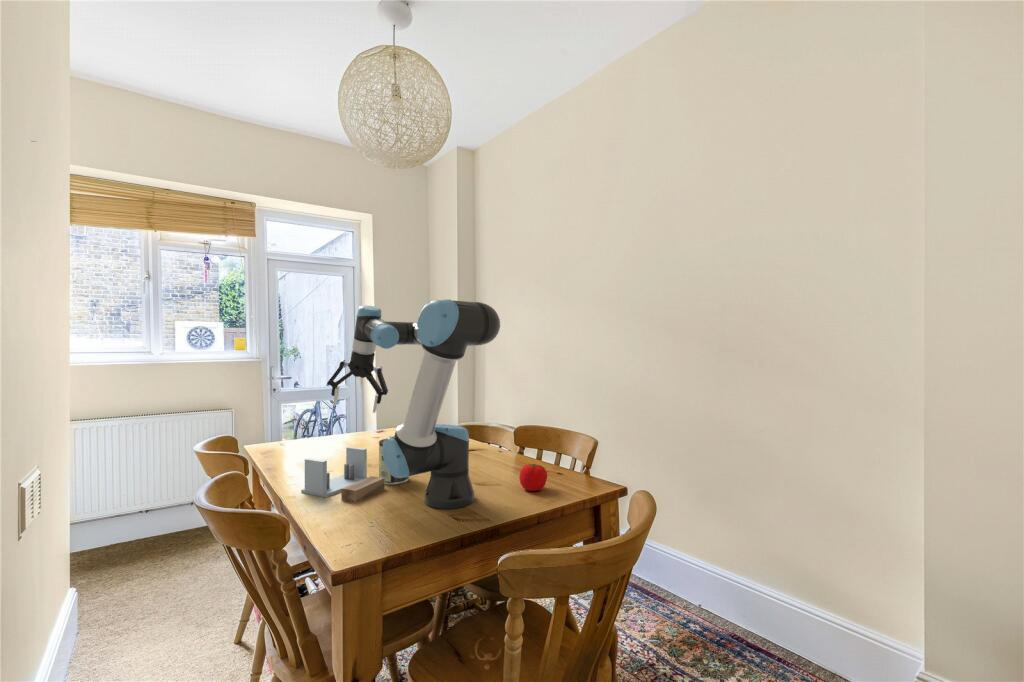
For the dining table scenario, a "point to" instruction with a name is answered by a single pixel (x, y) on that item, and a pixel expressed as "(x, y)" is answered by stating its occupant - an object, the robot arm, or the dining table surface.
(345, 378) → the robot arm
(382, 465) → the coffee can
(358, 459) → the peg cradle
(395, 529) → the dining table surface
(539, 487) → the tomato
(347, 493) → the shelf board
